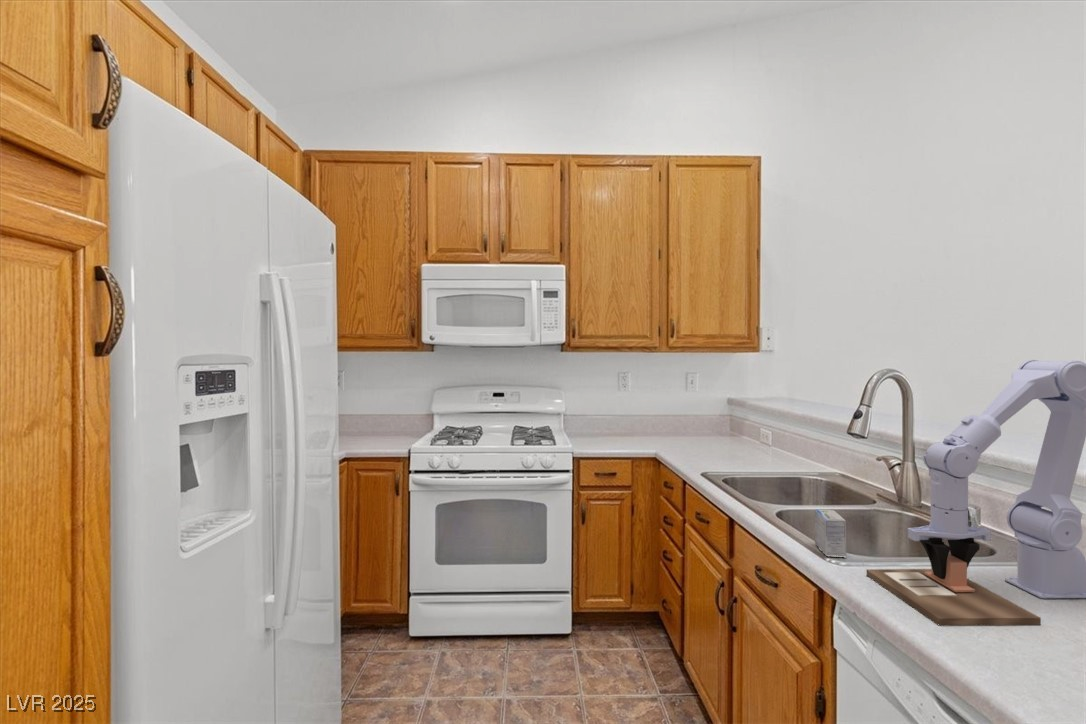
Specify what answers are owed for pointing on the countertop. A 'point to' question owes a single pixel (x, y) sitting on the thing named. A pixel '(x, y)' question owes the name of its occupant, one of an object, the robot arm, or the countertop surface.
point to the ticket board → (951, 600)
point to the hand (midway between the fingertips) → (948, 576)
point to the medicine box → (830, 532)
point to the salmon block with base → (954, 575)
